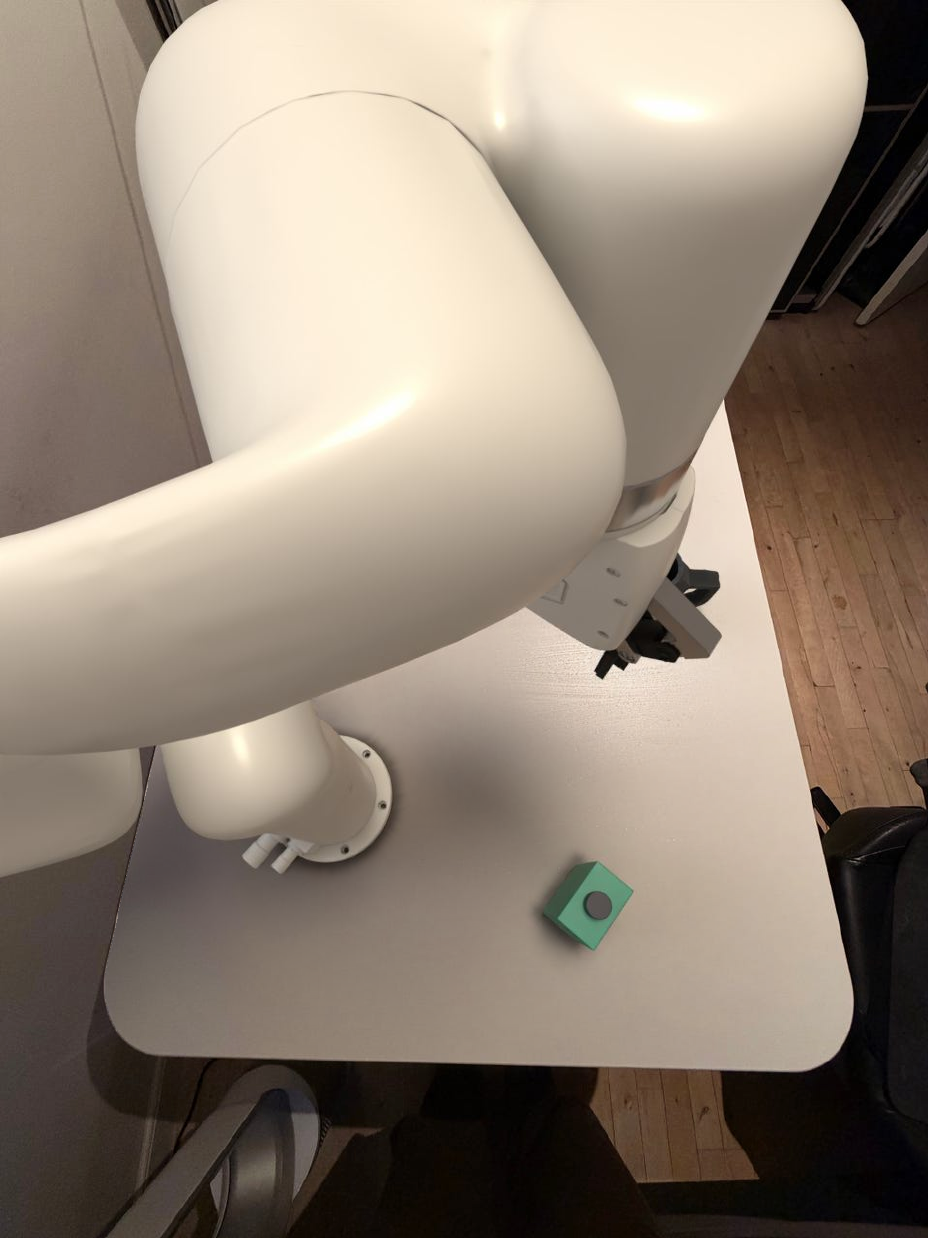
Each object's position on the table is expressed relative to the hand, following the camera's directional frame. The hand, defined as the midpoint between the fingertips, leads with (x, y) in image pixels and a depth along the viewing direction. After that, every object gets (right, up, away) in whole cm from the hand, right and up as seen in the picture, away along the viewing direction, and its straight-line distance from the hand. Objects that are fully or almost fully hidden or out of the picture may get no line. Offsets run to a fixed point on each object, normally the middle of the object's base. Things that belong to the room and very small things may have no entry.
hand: (543, 613), depth 39 cm
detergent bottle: (+6, -28, +23) cm, 36 cm away
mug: (+16, +1, +34) cm, 38 cm away
